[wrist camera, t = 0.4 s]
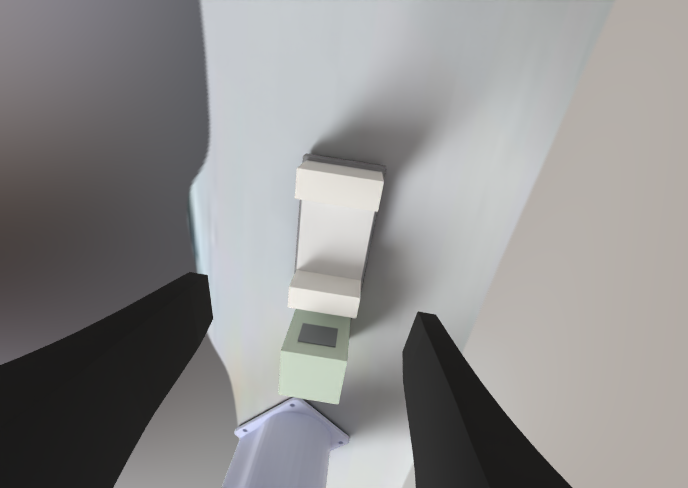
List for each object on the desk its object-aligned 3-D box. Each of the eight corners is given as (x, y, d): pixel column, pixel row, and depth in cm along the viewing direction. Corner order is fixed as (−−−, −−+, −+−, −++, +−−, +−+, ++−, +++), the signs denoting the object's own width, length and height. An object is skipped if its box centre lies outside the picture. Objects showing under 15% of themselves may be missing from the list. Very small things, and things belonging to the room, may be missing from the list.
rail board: (360, 290, 21) (358, 321, 18) (296, 280, 21) (284, 309, 18) (384, 165, 17) (388, 178, 14) (306, 153, 17) (292, 163, 14)
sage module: (344, 342, 24) (338, 404, 19) (297, 334, 24) (278, 394, 19) (352, 302, 22) (347, 360, 17) (300, 294, 22) (280, 349, 17)
